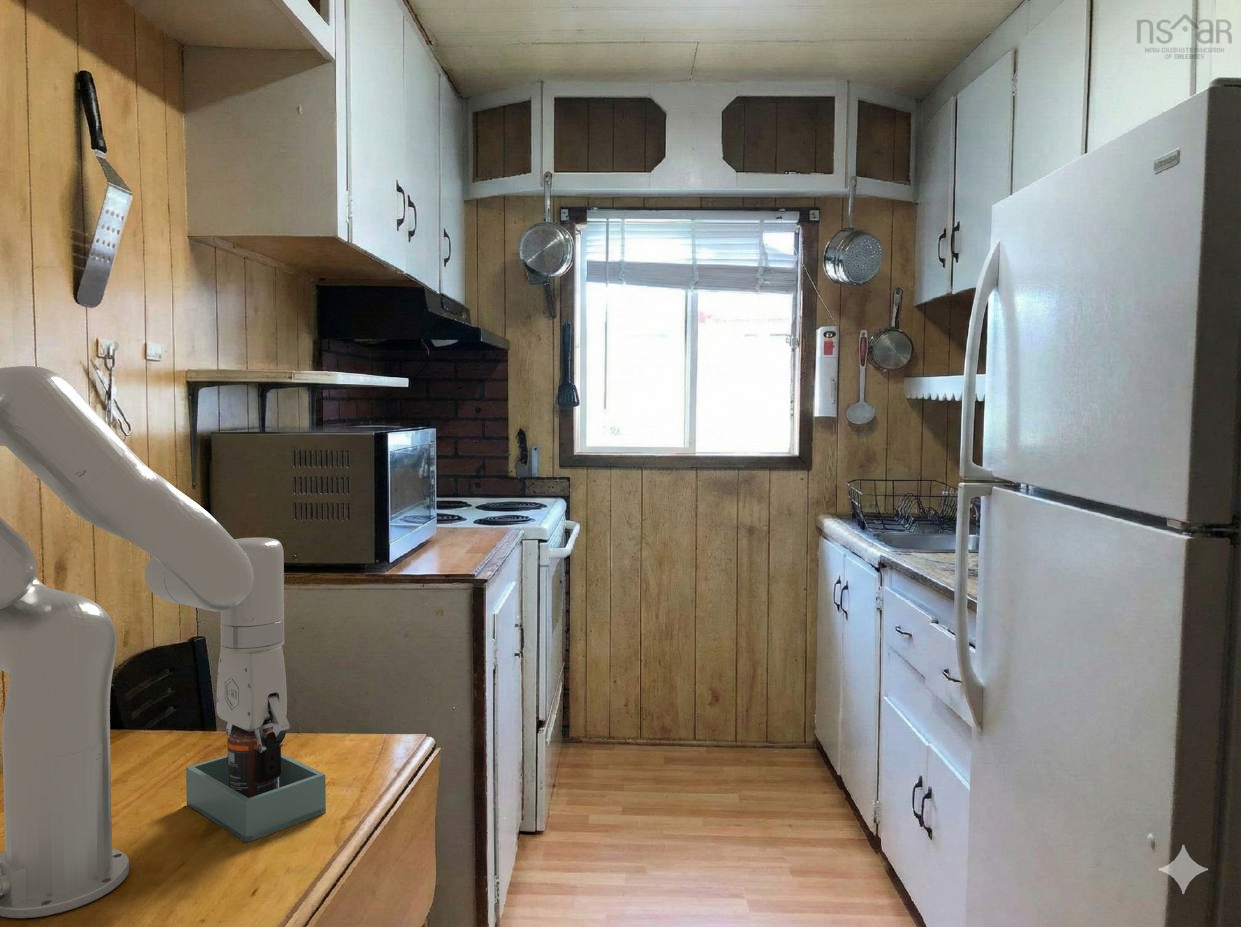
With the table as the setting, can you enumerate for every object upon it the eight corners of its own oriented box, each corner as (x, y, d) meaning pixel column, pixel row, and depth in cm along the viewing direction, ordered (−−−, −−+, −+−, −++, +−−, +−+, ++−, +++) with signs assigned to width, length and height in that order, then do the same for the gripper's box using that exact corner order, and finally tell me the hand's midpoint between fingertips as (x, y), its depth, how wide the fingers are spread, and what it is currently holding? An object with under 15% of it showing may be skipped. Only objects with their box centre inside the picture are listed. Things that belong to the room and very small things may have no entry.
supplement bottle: (287, 790, 111) (286, 706, 110) (264, 810, 105) (263, 721, 104) (245, 788, 111) (244, 704, 111) (219, 808, 105) (217, 720, 105)
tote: (246, 843, 99) (245, 801, 99) (186, 805, 109) (186, 767, 109) (325, 812, 107) (325, 774, 107) (263, 779, 117) (262, 744, 117)
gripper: (192, 629, 110) (194, 764, 111) (258, 651, 99) (259, 800, 100) (248, 620, 116) (249, 747, 116) (316, 639, 105) (317, 780, 105)
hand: (254, 770), depth 108 cm, fingers open, 6 cm apart
